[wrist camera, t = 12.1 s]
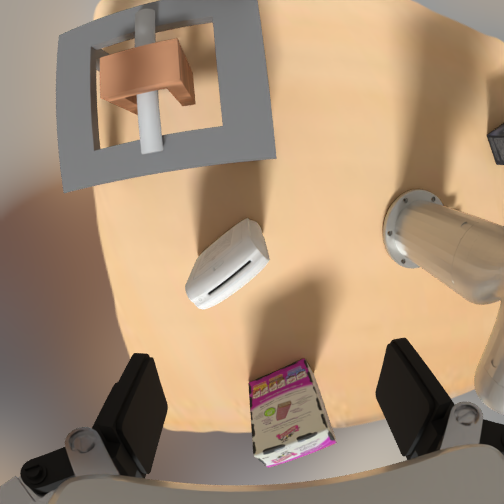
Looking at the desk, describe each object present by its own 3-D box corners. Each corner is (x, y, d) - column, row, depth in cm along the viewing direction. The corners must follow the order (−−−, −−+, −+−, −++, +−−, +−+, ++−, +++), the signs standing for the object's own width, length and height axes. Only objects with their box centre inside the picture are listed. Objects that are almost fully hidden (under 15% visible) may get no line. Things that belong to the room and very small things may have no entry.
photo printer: (212, 279, 43) (202, 324, 31) (192, 258, 42) (175, 296, 30) (268, 235, 41) (279, 267, 29) (248, 212, 40) (252, 234, 28)
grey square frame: (251, 32, 32) (256, -23, 18) (265, 159, 38) (279, 158, 24) (101, 61, 32) (50, 30, 18) (110, 182, 38) (53, 195, 24)
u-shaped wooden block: (192, 73, 29) (177, 38, 19) (195, 104, 30) (180, 79, 20) (135, 84, 29) (99, 57, 19) (137, 115, 30) (100, 98, 20)
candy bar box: (260, 398, 50) (267, 469, 35) (247, 381, 49) (250, 455, 33) (316, 374, 49) (338, 444, 33) (305, 356, 48) (327, 428, 32)
